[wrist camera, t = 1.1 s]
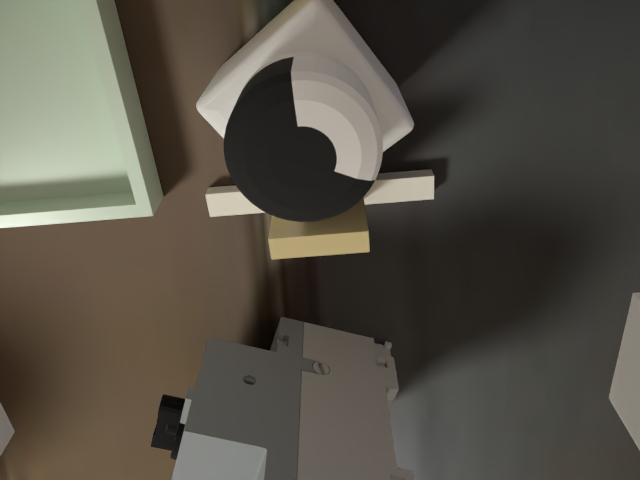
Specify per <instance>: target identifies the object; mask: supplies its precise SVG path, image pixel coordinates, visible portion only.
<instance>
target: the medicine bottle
mask: <svg viewBox="0 0 640 480" xmlns="http://www.w3.org/2000/svg"><path fill="white" fill-rule="evenodd" d="M196 107H197V110H198V112H199V113H200V114H201V115H202V116H203V117H204V118H205V119H206V120H207V121H208V122H209V123H210V124H211V125H212V126H213V128H214V129H215V130H216V131H217V132H218V133H219V134H220V135H221V136H222V137H223V138H224V155H225V161H226V165H227V169H228V171H229V173H230V176H231V178H232V180H233V182H234V183H235V185H236V187H237V188H238V189H239V191H240V192H241V193H242V194H243V196H244V197H245V198H247V199H248V200H249V201H250V202H251V203H252V204H253V205H255V206H256V207H257V208H259V209H260V210H262V211H264V212H266V213H268V214H270V215H272V216H275V217H277V218H281V219H284V220H288V221H296V222H313V221H321V220H325V219H329V218H332V217H334V216H337V215H339V214H341V213H343V212H345V211H347V210H348V209H350V208H351V207H353V206H354V205H355V204H357V203H358V202H359V201H360V200H361V199H362V198H363V197H364V196H365V195H366V193H367V192H368V191H369V190H370V188H371V186H372V185H373V183H374V181H375V180H376V177H377V175H378V172H379V170H380V166H381V162H382V155H383V152H384V151H385V150H387V149H388V148H389V147H391V146H392V145H393V144H395V143H396V142H397V141H399V140H400V139H401V138H403V137H404V136H405V135H407V134H408V133H409V132H411V131H412V129H413V127H414V122H413V119H412V117H411V115H410V113H409V111H408V108H407V106H406V104H405V102H404V99H403V97H402V95H401V93H400V91H399V88H398V86H397V84H396V82H395V81H394V80H393V78H392V77H391V76H390V74H389V73H388V72H387V70H386V69H385V68H384V67H383V65H382V64H381V63H380V61H379V60H378V59H377V57H376V56H375V55H374V53H373V52H372V51H371V49H370V48H369V47H368V45H367V44H366V43H365V41H364V40H363V39H362V37H361V36H360V35H359V33H358V32H357V31H356V29H355V28H354V27H353V25H352V24H351V23H350V22H349V20H348V19H347V18H346V16H345V15H344V14H343V12H342V11H341V10H340V8H339V7H338V6H337V4H336V3H335V2H334V0H294V1H292V2H291V3H290V4H289V5H288V6H287V7H286V8H285V9H284V10H282V11H281V12H280V13H279V14H278V15H277V16H276V17H275V18H274V19H273V20H271V21H270V22H269V23H268V24H267V25H266V26H265V27H264V28H263V29H262V30H260V31H259V32H258V33H257V34H256V35H255V36H254V37H253V38H252V39H251V40H249V41H248V42H247V43H246V44H245V45H244V46H243V47H242V48H241V49H240V50H238V51H237V52H236V53H235V54H234V55H233V56H232V57H231V58H230V59H229V60H227V61H226V62H225V63H224V64H223V65H222V66H221V67H220V68H219V70H218V71H217V73H216V74H215V76H214V77H213V79H212V80H211V82H210V83H209V85H208V86H207V88H206V89H205V91H204V92H203V94H202V95H201V97H200V98H199V100H198V102H197V103H196Z"/></svg>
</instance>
